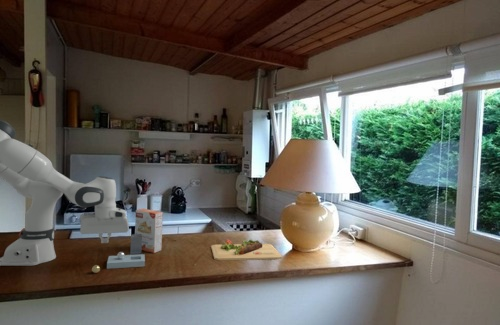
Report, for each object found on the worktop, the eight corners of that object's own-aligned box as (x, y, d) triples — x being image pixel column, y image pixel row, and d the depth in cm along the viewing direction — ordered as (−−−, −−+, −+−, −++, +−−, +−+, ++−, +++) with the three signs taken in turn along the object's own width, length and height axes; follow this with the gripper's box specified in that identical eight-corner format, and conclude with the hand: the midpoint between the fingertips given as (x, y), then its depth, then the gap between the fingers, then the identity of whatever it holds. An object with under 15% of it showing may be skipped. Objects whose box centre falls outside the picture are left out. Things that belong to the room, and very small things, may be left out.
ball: (116, 260, 155) (117, 253, 155) (117, 257, 158) (117, 251, 158) (124, 259, 156) (124, 252, 156) (124, 257, 159) (124, 250, 159)
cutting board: (214, 261, 168) (215, 246, 168) (210, 247, 191) (211, 234, 191) (282, 260, 175) (283, 246, 174) (271, 247, 198) (271, 234, 197)
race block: (130, 254, 163) (130, 237, 163) (130, 250, 169) (131, 234, 169) (141, 253, 165) (141, 237, 165) (141, 249, 171) (141, 234, 170)
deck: (106, 268, 150) (107, 263, 150) (108, 261, 160) (108, 256, 160) (144, 266, 155) (144, 260, 155) (144, 259, 165) (144, 254, 165)
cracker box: (133, 248, 180) (135, 209, 179) (142, 246, 186) (143, 208, 185) (153, 253, 174) (155, 213, 173) (161, 250, 179) (163, 211, 178)
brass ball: (91, 274, 143) (91, 266, 143) (92, 271, 146) (92, 264, 146) (99, 273, 144) (99, 266, 144) (100, 271, 147) (100, 263, 147)
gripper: (78, 214, 147) (78, 245, 148) (128, 213, 153) (128, 243, 154) (81, 211, 153) (80, 241, 154) (129, 210, 159) (128, 239, 160)
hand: (104, 242), depth 154 cm, fingers closed
